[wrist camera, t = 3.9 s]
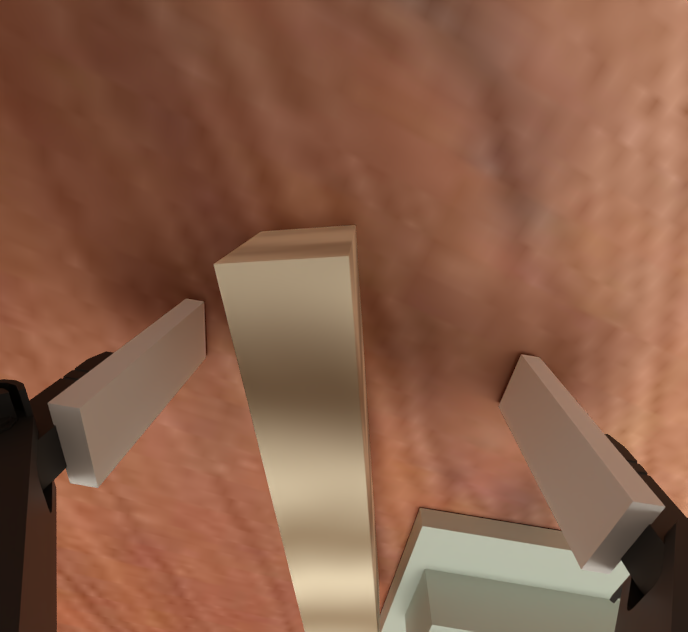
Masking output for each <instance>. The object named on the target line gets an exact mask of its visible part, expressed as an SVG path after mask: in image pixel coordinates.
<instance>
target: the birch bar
mask: <svg viewBox="0 0 688 632" xmlns="http://www.w3.org/2000/svg"><path fill="white" fill-rule="evenodd" d="M214 268H215V272H216V276H217V280H218V284H219V289H220V293H221V297H222V301H223V305H224V309H225V313H226V317H227V321H228V325H229V329H230V333H231V337H232V341H233V345H234V349H235V353H236V357H237V361H238V365H239V369H240V373H241V377H242V381H243V385H244V389H245V393H246V397H247V401H248V405H249V409H250V413H251V417H252V421H253V425H254V429H255V433H256V437H257V441H258V445H259V449H260V453H261V457H262V461H263V465H264V469H265V473H266V478H267V482H268V486H269V490H270V494H271V498H272V502H273V506H274V510H275V514H276V518H277V522H278V526H279V530H280V534H281V538H282V542H283V546H284V550H285V554H286V558H287V562H288V566H289V570H290V574H291V578H292V582H293V586H294V590H295V594H296V598H297V602H298V606H299V610H300V614H301V618H302V622H303V626H304V630H305V632H380V614H379V574H378V559H377V544H376V528H375V513H374V498H373V482H372V467H371V452H370V436H369V421H368V406H367V390H366V375H365V359H364V344H363V329H362V313H361V298H360V283H359V267H358V252H357V237H356V225H346V226H331V227H317V228H302V229H288V230H274V231H261V232H259V233H258V234H257V235H255V236H254V237H252V238H251V239H249V240H248V241H246V242H245V243H243V244H242V245H241V246H239V247H238V248H236V249H235V250H233V251H232V252H230V253H229V254H228V255H226V256H225V257H223V258H222V259H220V260H219V261H217V262H216V263H214Z"/></svg>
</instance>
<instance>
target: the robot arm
mask: <svg viewBox="0 0 688 632" xmlns="http://www.w3.org/2000/svg"><path fill="white" fill-rule="evenodd" d="M205 358H206V342H205V309H204V301H198V300H192V299H185V300H183V301H182V302H181V303H179V304H178V305H177V306H175V307H174V308H173V309H171V310H170V311H169V312H167V313H166V314H165V315H163V316H162V317H161V318H159V319H158V320H157V321H155V322H154V323H153V324H151V325H150V326H149V327H148V328H146V329H145V330H144V331H142V332H141V333H140V334H138V335H137V336H136V337H134V338H133V339H132V340H130V341H129V342H128V343H126V344H125V345H124V346H122V347H121V348H120V349H118V350H117V351H116V352H114V353H112V352H104V353H101V354H99V355H97V356H94V357H92V358H89V359H87V360H86V361H85V362H83V363H82V364H80V365H79V366H78V367H76V368H75V370H72V371H71V372H69V373H68V374H66V375H65V376H64V378H63V379H62V378H61V379H59V380H58V381H56V382H55V383H54V384H52V385H51V386H49V387H48V388H46V389H45V390H44V391H42V392H41V393H39V394H38V395H37V396H35V397H34V398H32V399H31V400H30V401H29V399H28V396H27V392H26V389H25V387H24V384H23V383H21V382H18V381H16V380H6V379H3V380H0V632H57V594H56V486H55V483H54V479H55V478H56V477H57V476H58V475H59V474H60V473H61V472H62V471H63V470H64V469H65V468H66V470H67V474H68V477H69V481H70V483H72V484H78V485H84V486H90V487H96V488H98V487H99V486H100V485H101V484H102V482H103V481H104V480H105V479H106V478H107V476H108V475H109V474H110V473H111V472H112V470H113V469H114V468H115V467H116V466H117V464H118V463H119V462H120V461H121V460H122V458H123V457H124V456H125V455H126V454H127V452H128V451H129V450H130V449H131V448H132V446H133V445H134V444H135V443H136V441H137V440H138V439H139V438H140V437H141V435H142V434H143V433H144V432H145V431H146V429H147V428H148V427H149V426H150V425H151V423H152V422H153V421H154V420H155V419H156V417H157V416H158V415H159V414H160V413H161V411H162V410H163V409H164V408H165V407H166V405H167V404H168V403H169V402H170V401H171V399H172V398H173V397H174V396H175V395H176V393H177V392H178V391H179V390H180V389H181V387H182V386H183V385H184V384H185V382H186V381H187V380H188V379H189V378H190V376H191V375H192V374H193V373H194V372H195V370H196V369H197V368H198V367H199V366H200V364H201V363H202V362H203V361H204V360H205ZM498 407H499V409H500V411H501V413H502V415H503V417H504V419H505V421H506V423H507V425H508V427H509V429H510V431H511V433H512V434H513V436H514V438H515V440H516V442H517V444H518V446H519V448H520V450H521V452H522V454H523V456H524V458H525V460H526V462H527V464H528V466H529V468H530V470H531V472H532V474H533V476H534V478H535V480H536V482H537V484H538V486H539V488H540V490H541V491H542V493H543V495H544V497H545V499H546V501H547V503H548V505H549V507H550V509H551V511H552V513H553V515H554V517H555V519H556V521H557V523H558V525H559V527H560V529H561V531H562V533H563V535H564V537H565V539H566V541H567V543H568V545H569V547H570V548H571V550H572V552H573V554H574V556H575V558H576V560H577V562H578V564H579V566H580V568H581V570H587V571H593V572H598V573H604V574H610V573H611V572H612V571H613V570H614V568H615V567H616V566H617V565H618V564H619V562H620V561H622V562H623V564H624V566H625V567H626V569H627V570H628V572H629V574H630V575H629V576H628V577H627V579H626V580H625V581H624V582H623V583H622V584H621V585H620V587H619V588H618V589H617V590H616V591H615V592H614V593H613V595H612V596H611V598H610V599H609V600H610V601H611V602H613V603H615V602H616V601H617V600H618V599H620V604H619V609H618V615H617V621H616V626H615V632H688V518H686V516H685V515H684V514H683V513H682V512H681V511H680V510H679V508H678V507H677V506H676V505H675V504H674V503H673V502H672V500H671V499H670V498H669V497H668V496H667V495H666V494H665V492H664V491H663V490H662V489H661V488H660V487H659V486H658V484H657V483H656V482H655V481H654V480H653V479H652V478H651V476H648V475H647V472H646V471H645V470H644V468H643V467H642V466H641V465H640V464H637V460H636V459H635V458H634V457H633V456H632V455H631V454H630V452H629V451H628V450H627V449H626V448H625V447H624V446H623V445H621V444H620V443H619V442H617V441H616V440H615V439H614V438H612V437H611V436H610V435H608V434H604V433H603V432H602V431H601V430H600V428H599V427H598V426H597V425H596V424H595V422H594V421H593V420H592V419H591V418H590V417H589V415H588V414H587V413H586V412H585V411H584V409H583V408H582V407H581V406H580V405H579V403H578V402H577V401H576V400H575V399H574V398H573V396H572V395H571V394H570V393H569V392H568V390H567V389H566V388H565V387H564V386H563V384H562V383H561V382H560V381H559V380H558V379H557V377H556V376H555V375H554V374H553V373H552V371H551V370H550V369H549V368H548V367H547V365H546V364H545V363H544V362H543V361H542V360H541V358H540V357H535V356H529V355H523V354H521V356H520V358H519V360H518V363H517V365H516V367H515V370H514V372H513V374H512V376H511V379H510V381H509V383H508V386H507V388H506V390H505V393H504V395H503V397H502V400H501V402H500V404H499V406H498Z"/></svg>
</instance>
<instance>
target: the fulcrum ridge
mask: <svg viewBox="0 0 688 632" xmlns="http://www.w3.org/2000/svg"><path fill="white" fill-rule="evenodd" d="M629 575H630V574H629V572H628V570H627V569H626V567H625V566H624V564H623V562H622V561H620V562H619V564H618V565H617V566H616V567H615V568H614V570H613V571H612V572H611V573H610V574H604V573H598V572H593V571H587V570H581V568H580V566H579V564H578V562H577V560H576V558H575V556H574V554H573V552H572V550H571V548H570V547H569V545H568V543H567V541H566V539H565V537H564V535H563V533H562V531H558V530H552V529H546V528H540V527H534V526H528V525H522V524H516V523H509V522H503V521H497V520H491V519H485V518H479V517H473V516H467V515H461V514H455V513H449V512H443V511H437V510H431V509H425V508H420V509H419V512H418V514H417V517H416V520H415V523H414V525H413V528H412V531H411V533H410V536H409V539H408V541H407V544H406V547H405V549H404V552H403V555H402V557H401V560H400V563H399V566H398V568H397V571H396V574H395V576H394V579H393V582H392V584H391V587H390V590H389V592H388V595H387V598H386V601H385V603H384V606H383V609H382V611H381V614H380V632H615V626H616V621H617V615H618V609H619V604H620V599H618V600H617V601H616V602H615V603H613V602H611V601H610V600H609V599H610V598H611V596H612V595H613V593H614V592H615V591H616V590H617V589H618V588H619V587H620V585H621V584H622V583H623V582H624V581H625V580H626V579H627V577H628V576H629Z"/></svg>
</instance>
